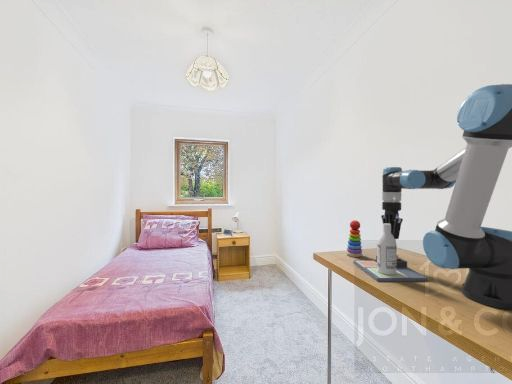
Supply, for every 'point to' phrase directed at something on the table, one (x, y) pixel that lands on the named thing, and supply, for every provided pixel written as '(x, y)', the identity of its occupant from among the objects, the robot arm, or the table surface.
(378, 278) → the picture board
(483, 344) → the table surface
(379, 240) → the bath foam
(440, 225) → the robot arm
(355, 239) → the stacking toy
